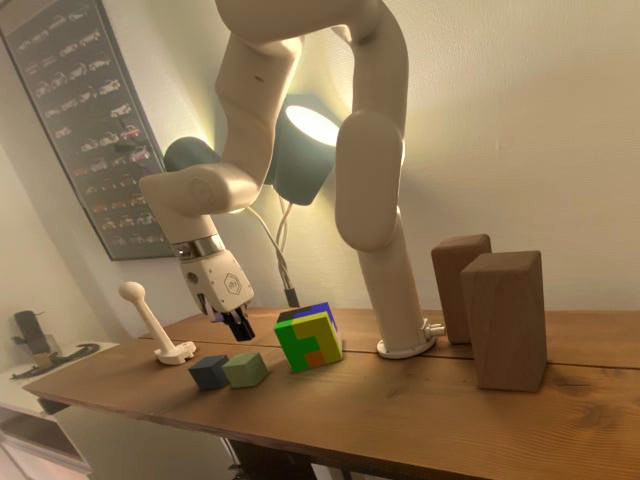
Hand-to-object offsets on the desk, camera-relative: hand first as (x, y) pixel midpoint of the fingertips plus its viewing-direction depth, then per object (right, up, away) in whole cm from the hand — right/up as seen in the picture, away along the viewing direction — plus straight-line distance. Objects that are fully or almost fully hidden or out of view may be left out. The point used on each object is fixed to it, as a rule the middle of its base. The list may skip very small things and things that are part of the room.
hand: (246, 339), depth 76 cm
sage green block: (0, -8, +1) cm, 8 cm away
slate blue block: (-7, -9, +2) cm, 12 cm away
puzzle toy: (+12, -4, +7) cm, 14 cm away
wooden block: (+54, -7, -11) cm, 55 cm away
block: (+47, +1, +5) cm, 47 cm away
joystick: (-28, -3, +18) cm, 34 cm away
